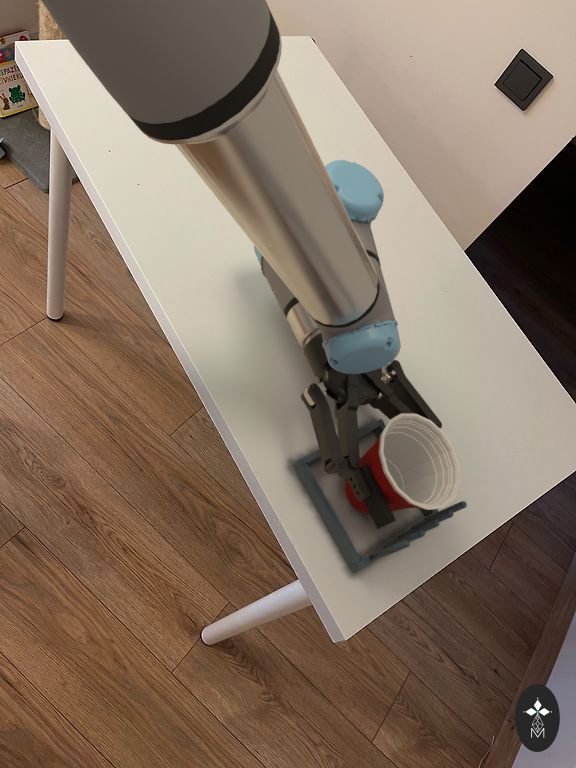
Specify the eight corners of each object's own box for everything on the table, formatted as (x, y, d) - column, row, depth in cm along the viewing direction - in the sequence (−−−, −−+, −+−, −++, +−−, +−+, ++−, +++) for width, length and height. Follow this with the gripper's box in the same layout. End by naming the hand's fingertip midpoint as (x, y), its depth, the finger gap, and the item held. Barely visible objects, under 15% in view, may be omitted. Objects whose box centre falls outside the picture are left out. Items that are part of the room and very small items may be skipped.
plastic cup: (408, 539, 72) (473, 513, 63) (329, 531, 68) (385, 503, 59) (399, 455, 77) (457, 419, 68) (324, 443, 73) (375, 404, 64)
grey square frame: (291, 464, 71) (325, 436, 64) (374, 423, 79) (413, 394, 71) (352, 572, 68) (395, 556, 60) (432, 518, 76) (479, 498, 68)
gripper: (380, 334, 80) (462, 487, 74) (241, 369, 69) (326, 553, 63) (411, 304, 74) (504, 468, 68) (265, 337, 63) (360, 537, 57)
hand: (418, 509), depth 65 cm, fingers closed on plastic cup, 9 cm apart
